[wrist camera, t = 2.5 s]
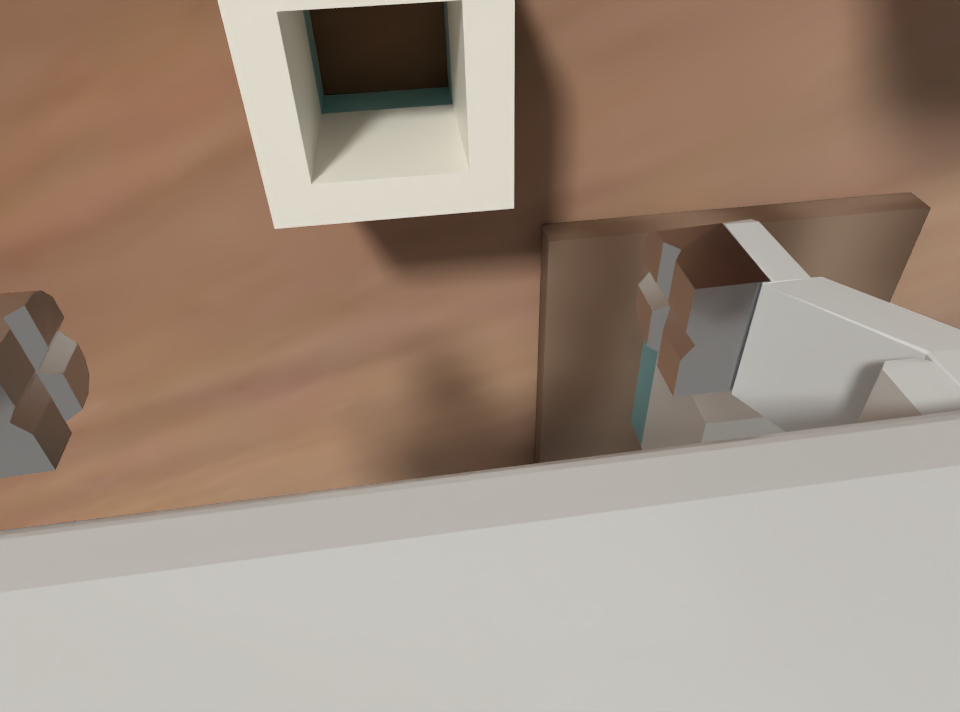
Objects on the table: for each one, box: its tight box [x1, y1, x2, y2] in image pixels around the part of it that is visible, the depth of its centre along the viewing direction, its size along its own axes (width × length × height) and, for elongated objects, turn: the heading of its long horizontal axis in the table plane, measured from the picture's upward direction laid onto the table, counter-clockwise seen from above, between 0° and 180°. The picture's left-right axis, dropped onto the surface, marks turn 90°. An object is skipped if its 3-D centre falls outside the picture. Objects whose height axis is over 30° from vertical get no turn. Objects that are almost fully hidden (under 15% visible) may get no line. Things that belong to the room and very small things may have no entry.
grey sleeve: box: [631, 341, 785, 450], centre depth 26 cm, size 6×6×6 cm
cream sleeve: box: [218, 0, 515, 229], centre depth 18 cm, size 6×6×6 cm
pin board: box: [534, 193, 930, 464], centre depth 31 cm, size 14×26×7 cm, turn 2°
